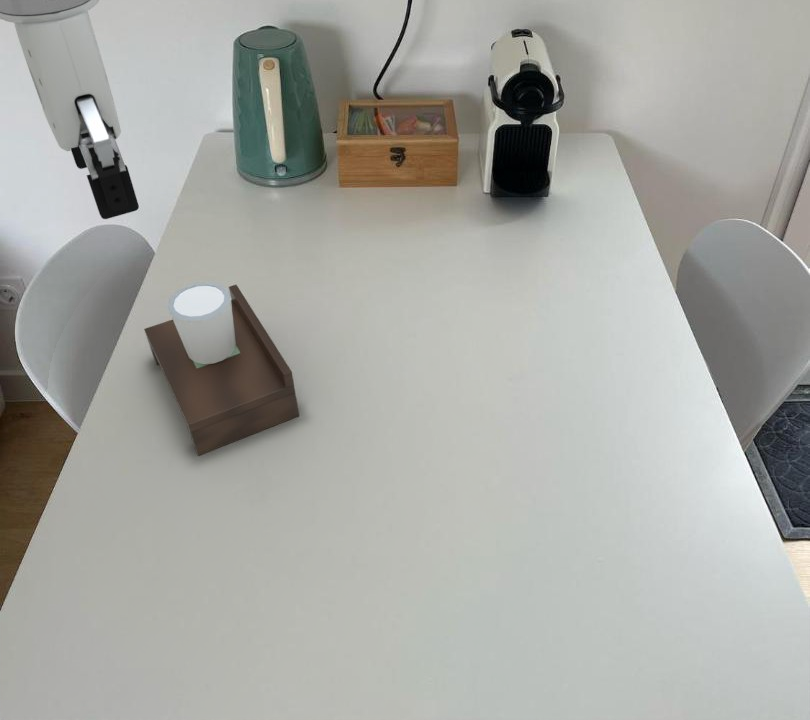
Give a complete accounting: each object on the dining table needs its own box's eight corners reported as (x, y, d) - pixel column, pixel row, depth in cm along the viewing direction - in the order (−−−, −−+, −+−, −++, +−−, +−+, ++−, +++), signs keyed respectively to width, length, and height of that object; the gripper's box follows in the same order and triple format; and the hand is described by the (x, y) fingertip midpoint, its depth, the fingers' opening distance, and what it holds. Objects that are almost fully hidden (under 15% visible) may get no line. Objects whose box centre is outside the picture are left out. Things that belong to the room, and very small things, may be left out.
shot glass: (253, 339, 95) (243, 292, 90) (214, 375, 90) (201, 327, 86) (208, 321, 97) (196, 274, 92) (168, 355, 93) (153, 308, 88)
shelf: (198, 456, 88) (184, 411, 84) (154, 359, 100) (139, 315, 95) (299, 416, 92) (291, 371, 88) (245, 327, 104) (236, 284, 99)
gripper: (-26, -37, 65) (46, 157, 76) (6, 33, 53) (85, 248, 65) (70, -53, 67) (125, 137, 79) (120, 10, 56) (176, 221, 67)
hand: (107, 187), depth 72 cm, fingers open, 9 cm apart
